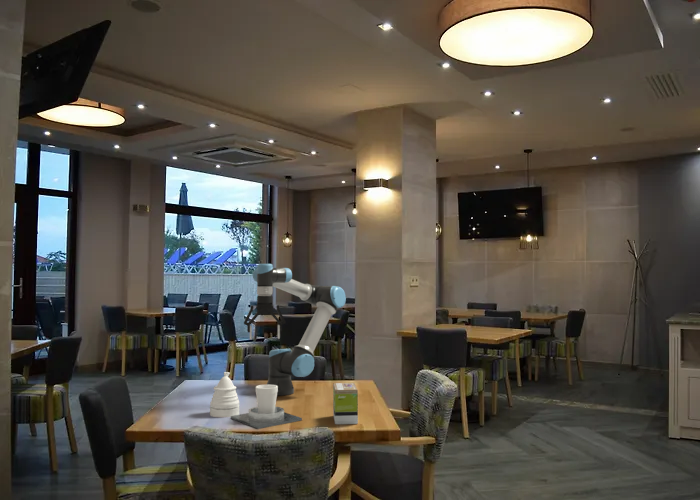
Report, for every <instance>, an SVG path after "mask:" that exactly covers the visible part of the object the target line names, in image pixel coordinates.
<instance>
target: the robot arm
mask: <svg viewBox="0 0 700 500" xmlns="http://www.w3.org/2000/svg"><path fill="white" fill-rule="evenodd" d="M252 279H253V280H254V281H255V282H256V294H257V296H256V305H253V304H251V305H250V307H249V308H250V309H249V311H248V313H247V315H246V317H245V319H244V321H243V325H246V326H247V329H246V330H247V333H249V340H252V339H253V337H252V333H253V332H252V331H253V330H252V324H253V322H254V321H255V320H256V319H257V317H259V315H269V314H270V315H271V317H273V319H275V321H276V322H277V323H278V324H277V339H278V340H280V338H281V332H282V331H283V325H285V324H286V320H285V318H284V316H283V313H282V312H281V309H280V305H279V304H276V305H275V304H273V303H274V302H273V299H274V298H273V293H274V292H273V287H274V288H277V289H279V290H281V291H284V292H286V293H289V294H291V295H294V296H296V297H299V298H300V300H301V301H303V302H306V303H308V304H310V305H313V306H316V310H315V311H314V313H313V315H312V317H311V320H310V321H309V323H308V326H307V327H306V330H305V331H304V334H303V335H302V338H300V339H301V340H300V341H299V343H298V345H294V346H293V348H292V349H291V348H278V349H272V350H270V351H269V355H268V379H267V383H266V385H277V386H278V392H277V397H278V396H289V395H293V394H294V393H295V388H294V384H293V382H292V381H293V380H292V376H294V377H298V378H300V377H301V378H302V377H303V378H305V377H307V376H309V375H310V374H311V373H312V372H313V370H314V367H315V358H314V357H315V355H314V354H315V353H314V351H315V349H316V348H317V345H318V343H319V342H320V339H321V337H322V335H323V333H324V331H325V328H326V326H327V325H328V323H329V322H330V321H329V320H330V318H331V316H333V315H335V314H336V313H337V311H338V309H341V308H343V307H344V306H345V304H346V302H347V301H346V300H347V299H346V298H347V296H346V292H345V290H344V289H343V288H342V287H341V286H338V285H337V286H336V285H329V286H328V285H313V284H310V283H303V282H300V281H298V280H296V279H293V273H292V270H291V269H290V268H288V267H274V265H273V264H272V263H259V264H257V268H255V269H254V270H253V272H252ZM255 309H256V310H257V311H256V313H254V315H253V316H252V313H253V312H254V310H255ZM273 309H275V310H276V312H277V314H278V316H279V317H280V319H279V318H278V316H276V314H274V312H273ZM251 316H252V318H251V319H250V317H251ZM249 319H250V320H249Z"/></svg>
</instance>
